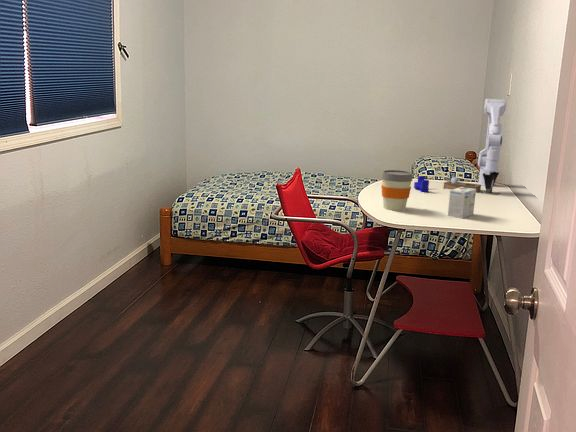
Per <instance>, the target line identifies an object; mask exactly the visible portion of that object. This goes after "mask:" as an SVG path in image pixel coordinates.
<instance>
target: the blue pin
mask: <svg viewBox="0 0 576 432" xmlns="http://www.w3.org/2000/svg"><path fill="white" fill-rule="evenodd" d="M450 181H451V183H454V184H458V182H459V177H455V176H453V177H451V180H450Z"/></svg>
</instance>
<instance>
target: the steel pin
mask: <svg viewBox="0 0 576 432" xmlns="http://www.w3.org/2000/svg"><path fill="white" fill-rule="evenodd" d="M493 180H494V179H493ZM493 188H494V186H493V181H492V185H491V188H490V189H486V188H485V191H486V193H492V192H493Z"/></svg>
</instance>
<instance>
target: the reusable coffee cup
mask: <svg viewBox="0 0 576 432" xmlns="http://www.w3.org/2000/svg"><path fill="white" fill-rule="evenodd" d="M381 181H382V183H381V196H382V199H383V200H382V202H383V205H382V206H383V209H385V210H389V211H395V212H398V211H399V212H400V211H405V210H406V207H407V203H408V202H407V201H408V199H409V198H410V194H411V190H412V187H411V185H412V181H413V173H412V172H411V171H406V170H400V169H387V170H383V171H382V173H381Z"/></svg>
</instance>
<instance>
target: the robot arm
mask: <svg viewBox="0 0 576 432" xmlns="http://www.w3.org/2000/svg"><path fill="white" fill-rule="evenodd" d="M483 107H484V110H483V114H484V115H485V116H486V117H487V118H488V119H487V129H486V130H487V131H486V139H485V148H484V149H482V150H480V151H479V153H478V159H477V166H478V167H479V175H478V182H477V183H476V184H479V185H481V187H485V190H486V189H490V188H491V185H492V181H493V187H494V186H496V180H497V178H498V176H499V175H500V172H499V163H500V162H499V161H500V154H501V147H502V146H503V145H502V144H503V132H502V124H501V122H500V117H502V116H504V114H505V112H506V108H507V100H506V99H500V98H499V99H497V98H496V99H495V98H486V99H484V106H483ZM493 179H494V180H493Z"/></svg>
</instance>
